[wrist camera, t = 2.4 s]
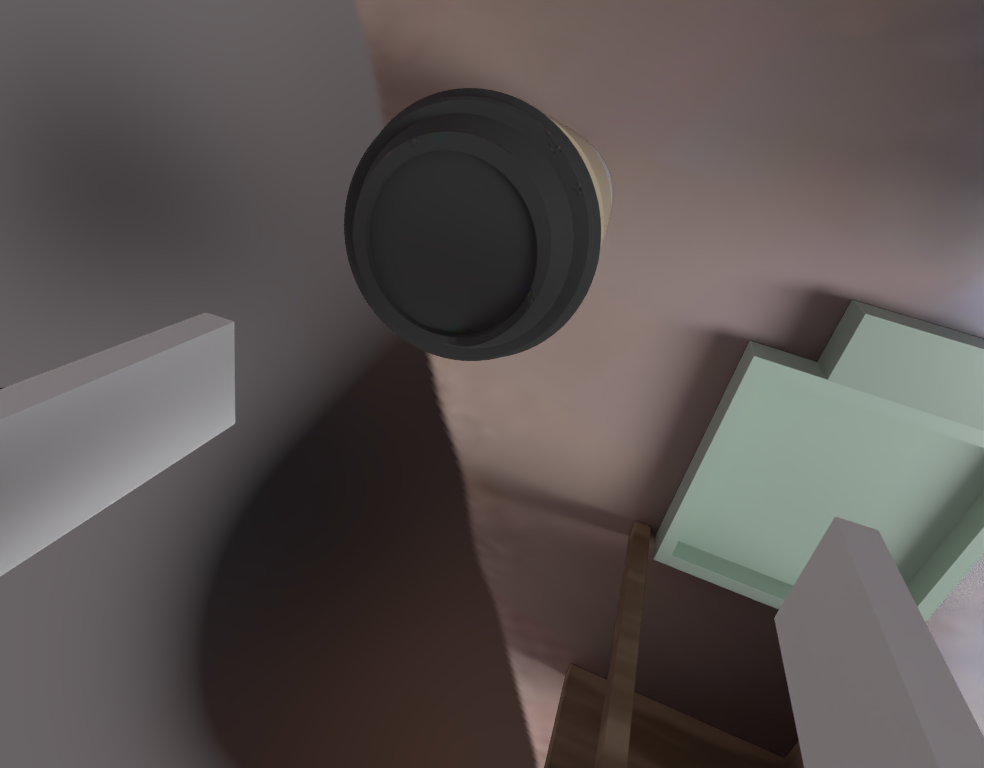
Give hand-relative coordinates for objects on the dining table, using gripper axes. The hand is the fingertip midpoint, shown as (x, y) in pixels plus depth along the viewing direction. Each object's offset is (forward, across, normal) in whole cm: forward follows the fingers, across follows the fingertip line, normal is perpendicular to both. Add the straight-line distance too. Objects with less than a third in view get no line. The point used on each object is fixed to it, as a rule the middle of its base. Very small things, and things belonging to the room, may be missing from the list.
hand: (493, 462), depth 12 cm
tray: (+21, +15, -7) cm, 27 cm away
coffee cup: (+22, -4, +3) cm, 22 cm away
